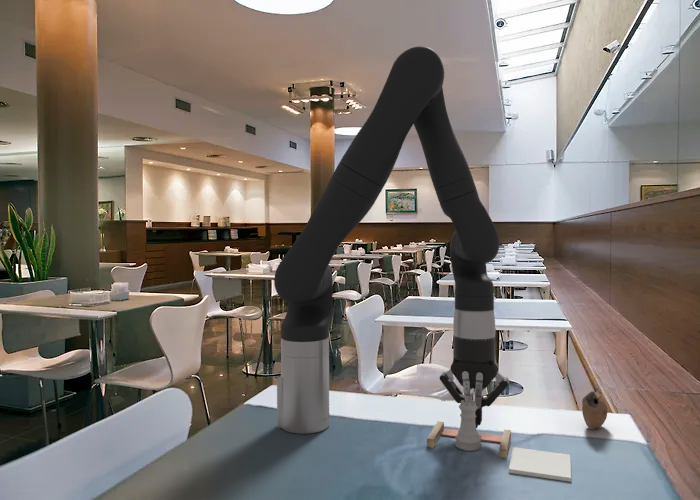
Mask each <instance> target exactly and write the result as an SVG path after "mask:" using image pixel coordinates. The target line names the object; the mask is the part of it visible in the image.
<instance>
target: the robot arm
mask: <svg viewBox="0 0 700 500" xmlns="http://www.w3.org/2000/svg"><path fill="white" fill-rule="evenodd" d="M443 64H444V63H443V62H442V59H441V58H440V56H439V54H437V53H436V51H434V49H432V48H430V47H428V46H427V47H426V46H421V45H419V46H414V47H410V48H408V49H406V50H404V51H403V52H401V54H399V55H398V56H397V58H396V59H395V60H394V62H393V64H392V66H391V69H390V71H389V73H388V76H387V78H386V81H385V84H384V85H383V88H382V90H381V92H380V94H379V97H378V99H377V101H376V103H375V106H373V109H372V110H371V113H370V114H369V116H368V117H367V119H366V121H365V122H364V124H363V125H362V127H361V128H360V129H359V131H358V132H357V134H356V135H355V137H354V138H353V139H352V141H351V143H350V145H349V146H348V148H347V149H346V151H345V152H344V154H343V155H342V157H341V159H340V162H339V163H338V164H337V166H336V168H335V169H334V172H333V173H332V175H331V177H330V179H329V180H328V183H327V185H326V187H325V189H324V191H323V192H322V194H321V195H320V198H319V200H318V201H317V203H316V204H315V207H314V209H313V211H312V213H311V215H310V216H309V217H310V218H309V219H308V221H307V223H306V225H305V226H304V228H303V229H302V231H301V232H300V234H299V236H298V237H297V238H296V240H295V241H294V243H292V245H291V247H290V248H289V250H288V251H287V252H286V254H285V255H284V257H283V258H282V260H281V261H280V262H279V264H278V265H277V267H276V270H275V273H274V279H273V281H274V282H273V283H274V288H275V291H276V294H277V295H278V297H279V298H280V300H282V301H284V302H285V303H287V309H286V313H285V317H284V318H283V320H282V321H281V325H280V376H278V377H277V378H276V405H277V406H276V414H277V416H276V420H277V421H276V422H277V423H276V425H277V426H276V427H277V428H279V429H280V428H281V429H283V430H284V431H286V432H289V433H293V434H306V435H307V434H314V433H319V432H323V431H324V430H326V429H328V427H330V341H329V340H330V325H331V323H332V319H333V296H334V295H333V293H334V292H333V288H334V286H333V284H334V283H333V273H332V268H331V266H330V263H331V261H332V259H333V257H334V255H335V254H336V252H337V249H338V248H339V247H340V245H341V244H342V242H344V240H345V239H346V238H347V237H348V236H349V235H350V233H351V232H352V231H353V230H355V228H356V227H357V226H358V225H359V224H360V223H361V221H363V219H364V218H365V217H366V216H367V214H369V212H370V210H371V209H372V208H373V206H374V205H375V203H376V201H377V199H378V198H379V196H380V194H381V192H382V191H383V189H384V187H385V185H386V183H387V182H388V179H389V178H390V175H391V173H392V171H393V169H394V167H395V165H396V162H397V160H398V158H399V155H400V152H401V149H402V147H403V144H404V142H405V140H406V137H407V135H408V134H409V132H410V131H411V128H412V127H414V129H415V131H416V134H417V135H418V139H419V142H420V144H421V148H422V151H423V155H424V158H425V161H426V165H427V169H428V173H429V176H430V180H431V183H432V186H433V188H434V191H435V194H436V197H437V200H438V202H439V206H440V208H441V210H442V212H443V214H444V215H445V216H447V217H448V218H449V219H450V221H451V222H452V225H453V227H454V230H455V231H454V232H453V234H452V236H451V239H450V244H449V245H450V246H449V255H450V262H451V269H452V275H453V280H454V315H453V319H452V320H453V328H452V329H453V333H452V334H453V336H452V337H453V339H452V340H453V341H452V343H453V347H452V348H453V349H452V350H453V352H452V354H453V355H452V356H453V357H452V358H453V359H452V363H451V364H450V369H448V370H447V371H444V372H442V373H441V375H440V376H439V381H440V382H441V383H442V384H443V386H444V387H445V389H446V390H447V392H448V393H449V394H450V396H451V397H452V398H453V400H454V401H455V402H456V403H457V404H461V400H464V402H465V399H468V402H470V400H473V403H474V401H475V402H476V406H477V407H478V408H477V410H476V411H475V415H476V418H475V424H476V429H478V427H479V426H480V425H481V424H482V421H483V407H491V405H492V404H493V403H494V402H495V401H496V400H497V399H498V398H499V396H500V395H501V394H502V393H503V392H504V391H505V390H506V388H508V386H509V382H510V379H509V378H508V377H504V376H503V374H501V373H499V368H498V366H497V364H496V332H497V328H496V319H495V311H494V310H495V288H494V283H493V281H492V279H491V278H490V277H489V276H488V271H487V264H488V263H490V262H492V261H493V260H494V259H495V258H496V257H497V255H498V254H499V250H500V238H499V233H498V231H497V228H496V225H495V224H494V222H493V221H492V219H491V216H490V214H489V213H488V211H487V209H486V208H485V206H484V205H483V202H482V201H481V199H480V197H479V193H478V190H477V187H476V183H475V181H474V178H473V176H472V172H471V169H470V167H469V164H468V162H467V158H466V157H465V155H464V152H463V150H462V148H461V145H460V144H459V142H458V139H457V137H456V134H455V133H454V129H453V127H452V125H451V121H450V119H449V118H450V117H449V114H448V111H447V106H446V101H445V95H444V89H443V87H444V86H443V85H444V81H445V68H444V65H443ZM455 379H456V380H457V381H458V383H459V385H460V386H461V387H462V388H463V392H462V391H461V389H460V388H459V387H458V385H457V383H455V381H454V380H455ZM494 379H495V381H494V388H493V389H492V390H491V391H490V392H489V394H488V395H487V396H485V397H484V391H485V389H487V387H488V386H489V385H490V384H491V383H492V381H493V380H494ZM474 389H475V390H474Z"/></svg>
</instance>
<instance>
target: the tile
mask: <svg viewBox="0 0 700 500" xmlns="http://www.w3.org/2000/svg"><path fill="white" fill-rule="evenodd" d="M509 462H510V463H509V466H508V467H509V468H508V473H509V474H514V475H516V474H517V475H521V476H529V477H536V478H542V479H550V480H556V481H563V482H570V483H572V470H571V469H572V467H571V455H570V454H568V453H567V454H566V453H560V452H553V451H545V450H537V449H536V450H535V449H529V448H521V447H516V446H514V447H513V446H512V452H511V456H510V461H509Z"/></svg>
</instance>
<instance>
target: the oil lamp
mask: <svg viewBox="0 0 700 500" xmlns="http://www.w3.org/2000/svg"><path fill="white" fill-rule="evenodd" d="M581 405H582V406H581V407H582V408H581V409H582V410H581V411H582V412H581V413H582V417H583V420H584V422H585V425H586V426H587V427H588V429H590V430H594V429H595V430H596V429H599V428H602V426H604V424H605V421H606V420H607V417H608V405H607V403H606V401H605V399H604V397H603V394H602V391H601V390H597V391H590V392H589V393H587V394H586V395H584V396H583V398H582V400H581Z"/></svg>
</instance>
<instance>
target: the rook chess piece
mask: <svg viewBox="0 0 700 500" xmlns="http://www.w3.org/2000/svg"><path fill="white" fill-rule="evenodd" d="M473 400H474V399H473ZM473 400H470V402H468V399H465V402H464V400H461V403H459V406H458V408H459V409H460V415H459V417H460V427H459V431H458V434H457V435H456V438H455V437H454V438H455V440H456V441H455V443H454V445H455V446H456V448H457V449H459V450H460V451H464V452H476V451H478V450H480V448H481V447H482V444H481V442H482V441H481V439H480V437H479V436H478V433H479V432H478V431H477V428H476V424H475V418H476V415H475V411H476V410H477V408H478V407H477V406H476V402H475V400H474V402H473Z"/></svg>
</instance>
